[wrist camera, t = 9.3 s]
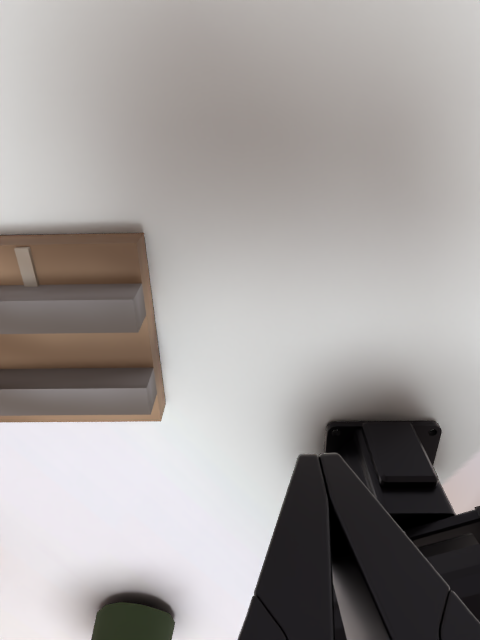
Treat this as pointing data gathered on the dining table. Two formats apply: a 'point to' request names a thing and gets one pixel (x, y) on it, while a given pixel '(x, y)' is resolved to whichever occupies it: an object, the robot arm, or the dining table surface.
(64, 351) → the fader board
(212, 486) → the dining table surface
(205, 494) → the dining table surface
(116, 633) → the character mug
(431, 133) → the dining table surface
